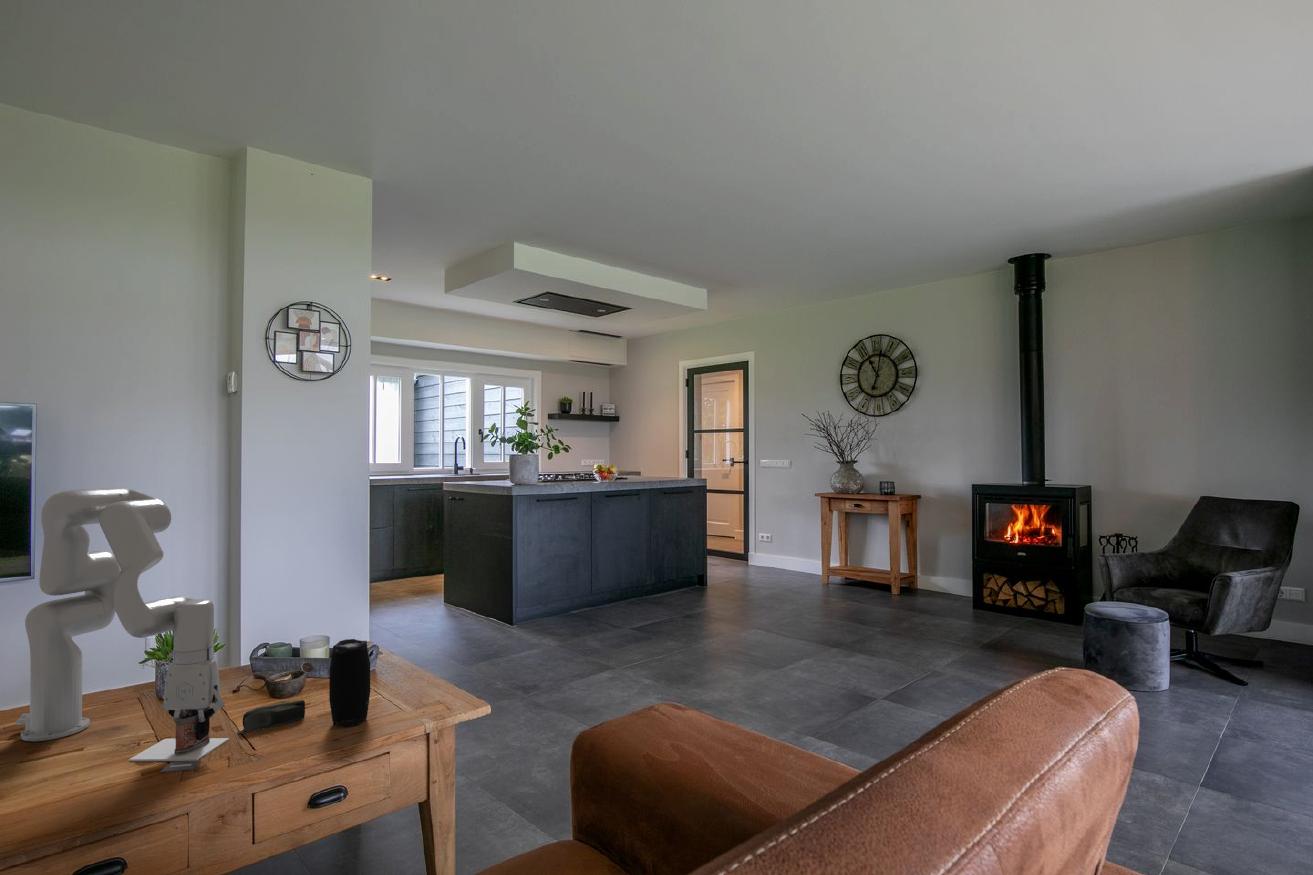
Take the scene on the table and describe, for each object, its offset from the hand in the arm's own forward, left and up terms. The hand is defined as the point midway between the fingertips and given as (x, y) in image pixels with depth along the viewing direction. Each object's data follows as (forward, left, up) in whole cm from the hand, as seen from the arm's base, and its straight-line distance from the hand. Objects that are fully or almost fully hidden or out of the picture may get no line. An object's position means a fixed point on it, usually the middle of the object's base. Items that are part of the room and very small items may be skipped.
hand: (192, 736), depth 155 cm
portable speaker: (+28, +16, -3) cm, 33 cm away
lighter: (0, 0, -3) cm, 3 cm away
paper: (-3, 0, -3) cm, 4 cm away
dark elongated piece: (+10, +14, -3) cm, 18 cm away
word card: (+3, -9, -3) cm, 10 cm away
